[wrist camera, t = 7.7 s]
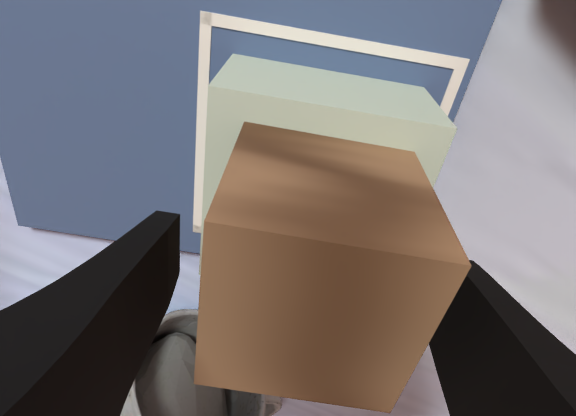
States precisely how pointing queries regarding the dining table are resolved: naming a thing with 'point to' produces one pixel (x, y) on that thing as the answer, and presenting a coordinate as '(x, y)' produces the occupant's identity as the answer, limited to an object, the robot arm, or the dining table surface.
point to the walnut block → (322, 270)
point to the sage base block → (319, 113)
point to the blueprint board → (184, 90)
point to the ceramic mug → (185, 379)
